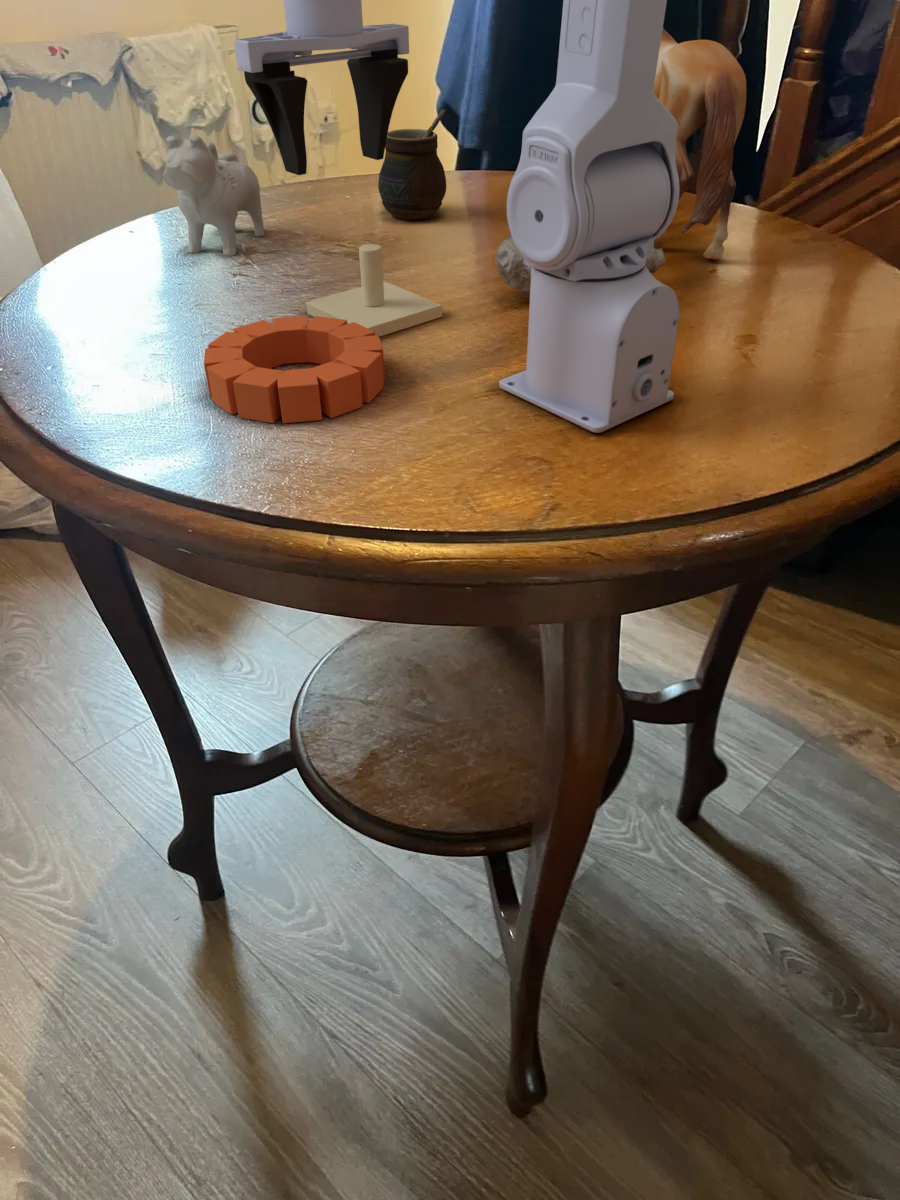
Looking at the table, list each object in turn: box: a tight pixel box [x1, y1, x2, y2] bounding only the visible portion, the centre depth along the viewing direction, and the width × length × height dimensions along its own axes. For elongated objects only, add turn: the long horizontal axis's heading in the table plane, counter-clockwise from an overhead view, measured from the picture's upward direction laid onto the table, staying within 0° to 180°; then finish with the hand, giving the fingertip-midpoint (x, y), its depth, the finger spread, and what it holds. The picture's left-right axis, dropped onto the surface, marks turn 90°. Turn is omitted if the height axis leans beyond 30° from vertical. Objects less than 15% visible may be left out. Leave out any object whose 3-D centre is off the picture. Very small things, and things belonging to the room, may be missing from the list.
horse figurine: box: [653, 27, 747, 260], centre depth 85 cm, size 31×8×21 cm, turn 13°
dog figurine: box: [162, 134, 266, 257], centre depth 86 cm, size 5×13×11 cm, turn 165°
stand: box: [305, 243, 443, 338], centre depth 73 cm, size 8×8×6 cm
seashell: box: [494, 235, 667, 299], centre depth 76 cm, size 6×14×8 cm, turn 95°
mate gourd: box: [377, 107, 447, 221], centre depth 94 cm, size 7×8×10 cm
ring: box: [203, 315, 386, 424], centre depth 63 cm, size 12×12×3 cm
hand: (335, 164), depth 73 cm, fingers open, 7 cm apart
